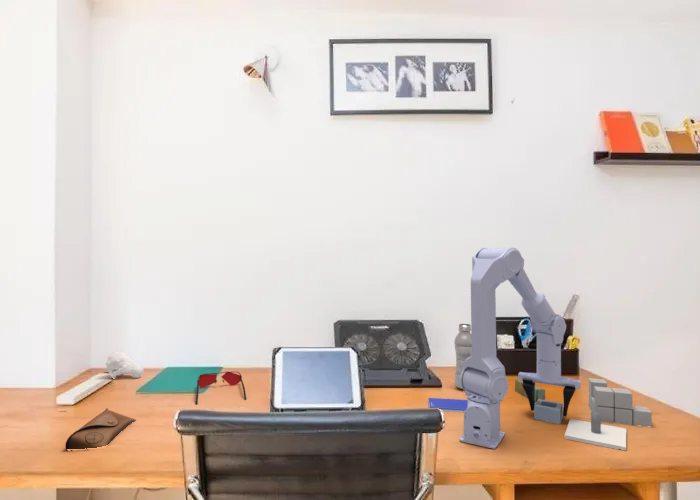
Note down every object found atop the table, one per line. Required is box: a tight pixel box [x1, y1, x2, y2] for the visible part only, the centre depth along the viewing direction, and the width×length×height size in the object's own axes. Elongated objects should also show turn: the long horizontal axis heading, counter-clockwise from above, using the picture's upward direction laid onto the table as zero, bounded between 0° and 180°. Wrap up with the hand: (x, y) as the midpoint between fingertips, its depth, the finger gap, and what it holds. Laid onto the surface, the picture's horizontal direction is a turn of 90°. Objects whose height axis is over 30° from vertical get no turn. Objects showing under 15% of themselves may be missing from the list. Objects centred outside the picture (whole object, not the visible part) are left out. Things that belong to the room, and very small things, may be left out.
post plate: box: [564, 411, 627, 451], centre depth 104 cm, size 12×12×5 cm
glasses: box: [195, 371, 247, 406], centre depth 135 cm, size 14×16×5 cm
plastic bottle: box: [453, 323, 472, 390], centre depth 140 cm, size 6×7×20 cm
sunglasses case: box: [65, 408, 136, 451], centre depth 105 cm, size 18×7×7 cm, turn 6°
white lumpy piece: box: [105, 351, 145, 380], centre depth 152 cm, size 6×8×12 cm
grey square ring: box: [533, 399, 564, 425], centre depth 115 cm, size 6×6×4 cm
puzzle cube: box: [588, 377, 653, 427], centre depth 117 cm, size 12×12×8 cm
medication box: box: [514, 378, 546, 404], centre depth 132 cm, size 12×3×4 cm, turn 11°
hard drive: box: [427, 397, 467, 413], centre depth 124 cm, size 2×8×12 cm
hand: (548, 412), depth 115 cm, fingers open, 7 cm apart
